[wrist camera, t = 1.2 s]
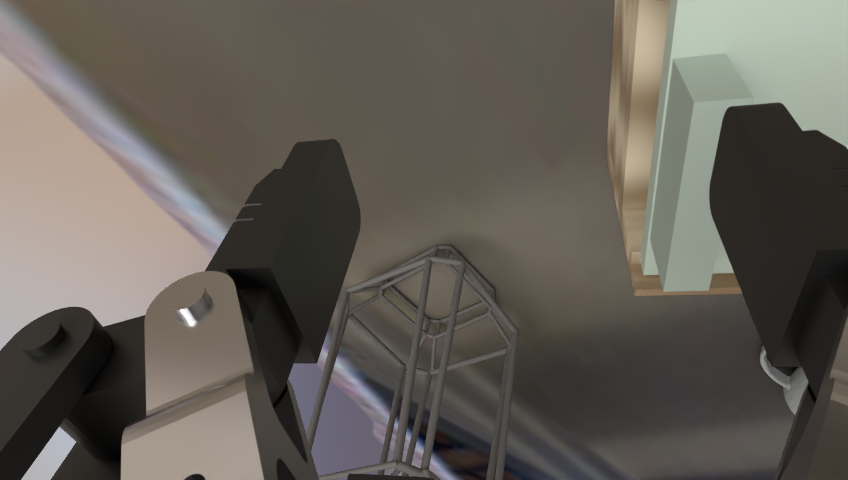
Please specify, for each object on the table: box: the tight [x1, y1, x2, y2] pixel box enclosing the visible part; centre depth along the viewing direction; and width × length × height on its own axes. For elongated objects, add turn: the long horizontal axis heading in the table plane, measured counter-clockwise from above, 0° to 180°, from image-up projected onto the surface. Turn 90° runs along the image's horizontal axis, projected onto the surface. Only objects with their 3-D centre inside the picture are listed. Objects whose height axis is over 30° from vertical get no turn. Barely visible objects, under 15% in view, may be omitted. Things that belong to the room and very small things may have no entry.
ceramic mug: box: [760, 345, 808, 415], centre depth 50 cm, size 11×8×8 cm
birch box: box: [606, 0, 742, 296], centre depth 29 cm, size 17×19×14 cm
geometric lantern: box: [306, 245, 519, 480], centre depth 40 cm, size 16×16×35 cm
